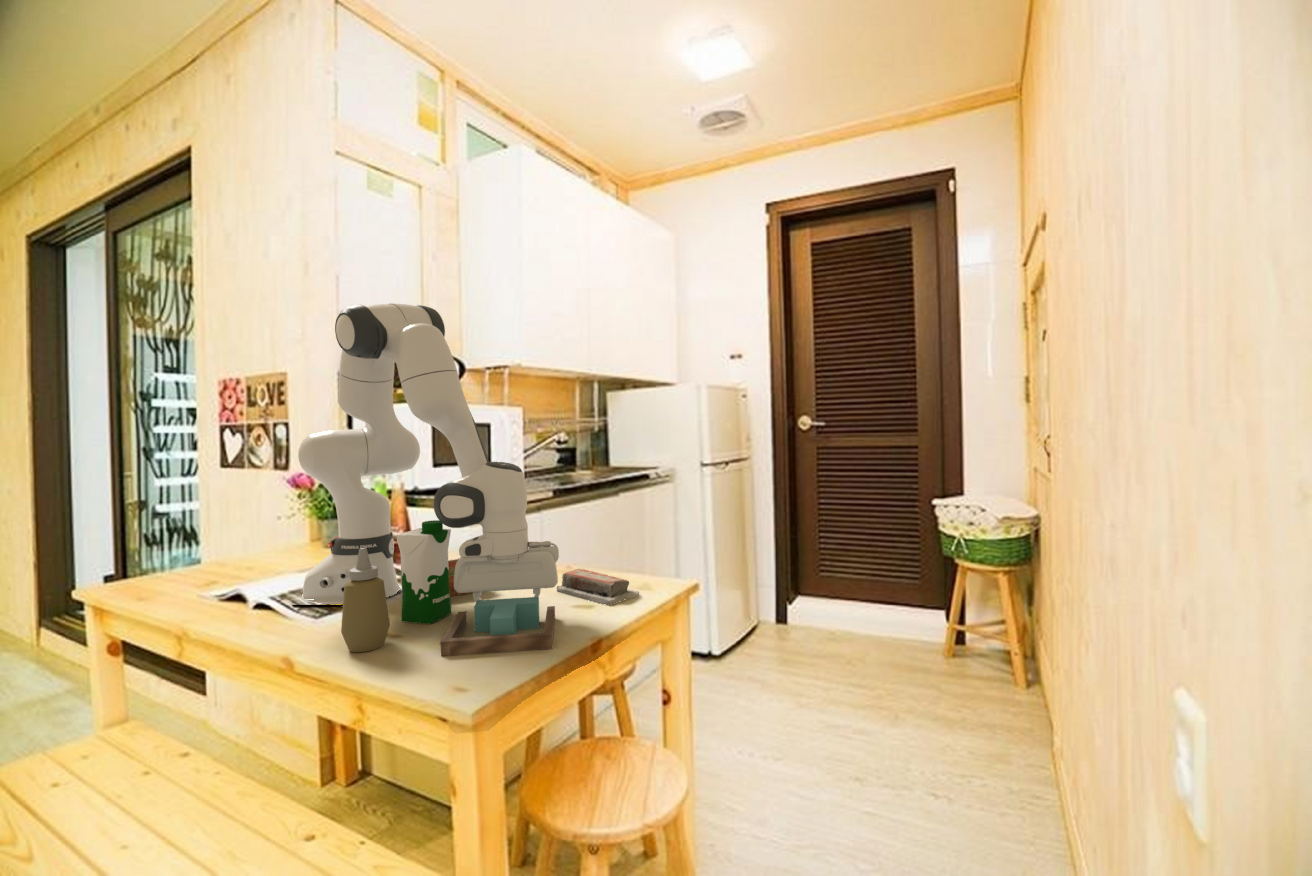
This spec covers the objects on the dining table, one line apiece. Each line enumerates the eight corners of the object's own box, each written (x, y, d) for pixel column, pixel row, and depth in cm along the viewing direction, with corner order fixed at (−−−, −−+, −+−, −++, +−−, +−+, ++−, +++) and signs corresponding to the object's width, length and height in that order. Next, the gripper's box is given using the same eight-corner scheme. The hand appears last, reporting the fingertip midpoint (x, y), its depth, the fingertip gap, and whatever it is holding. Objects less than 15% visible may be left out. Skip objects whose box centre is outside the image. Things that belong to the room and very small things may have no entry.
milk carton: (431, 626, 122) (428, 526, 121) (393, 622, 124) (389, 524, 123) (458, 612, 130) (455, 518, 129) (421, 609, 133) (418, 517, 132)
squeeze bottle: (372, 656, 107) (368, 554, 106) (331, 654, 108) (327, 553, 107) (399, 639, 115) (396, 544, 114) (361, 637, 116) (357, 543, 115)
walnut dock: (441, 656, 106) (440, 642, 106) (458, 624, 123) (458, 611, 123) (552, 648, 109) (551, 634, 109) (555, 618, 125) (554, 606, 125)
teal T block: (467, 647, 110) (466, 620, 110) (478, 625, 122) (477, 600, 122) (535, 643, 112) (535, 616, 111) (539, 621, 123) (538, 596, 123)
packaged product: (554, 573, 144) (585, 564, 152) (554, 593, 144) (586, 584, 152) (608, 586, 132) (639, 576, 140) (608, 608, 132) (640, 597, 140)
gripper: (558, 537, 127) (560, 603, 128) (456, 542, 125) (459, 609, 125) (557, 543, 121) (559, 613, 122) (450, 549, 118) (453, 619, 119)
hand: (507, 611), depth 123 cm, fingers open, 8 cm apart
